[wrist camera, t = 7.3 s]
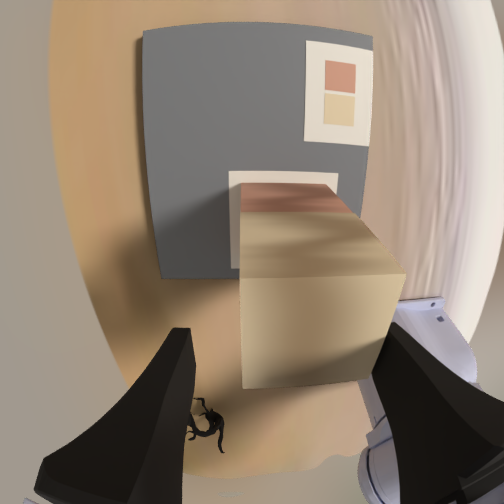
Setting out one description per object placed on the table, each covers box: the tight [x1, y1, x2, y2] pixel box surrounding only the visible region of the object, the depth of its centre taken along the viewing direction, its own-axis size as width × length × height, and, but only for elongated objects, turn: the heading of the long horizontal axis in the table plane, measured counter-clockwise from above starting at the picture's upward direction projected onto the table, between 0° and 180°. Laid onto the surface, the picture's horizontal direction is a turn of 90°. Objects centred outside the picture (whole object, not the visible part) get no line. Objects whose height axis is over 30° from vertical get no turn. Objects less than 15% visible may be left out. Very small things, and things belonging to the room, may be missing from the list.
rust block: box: [241, 183, 353, 213], centre depth 16 cm, size 5×5×5 cm
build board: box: [142, 22, 373, 279], centre depth 16 cm, size 13×16×1 cm
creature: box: [186, 398, 225, 453], centre depth 27 cm, size 8×5×8 cm
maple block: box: [239, 212, 407, 389], centre depth 11 cm, size 5×5×5 cm
